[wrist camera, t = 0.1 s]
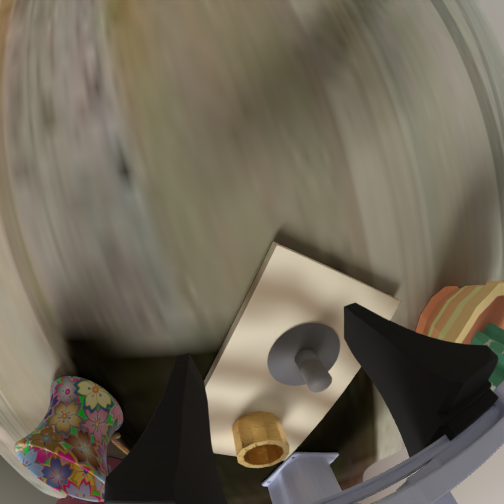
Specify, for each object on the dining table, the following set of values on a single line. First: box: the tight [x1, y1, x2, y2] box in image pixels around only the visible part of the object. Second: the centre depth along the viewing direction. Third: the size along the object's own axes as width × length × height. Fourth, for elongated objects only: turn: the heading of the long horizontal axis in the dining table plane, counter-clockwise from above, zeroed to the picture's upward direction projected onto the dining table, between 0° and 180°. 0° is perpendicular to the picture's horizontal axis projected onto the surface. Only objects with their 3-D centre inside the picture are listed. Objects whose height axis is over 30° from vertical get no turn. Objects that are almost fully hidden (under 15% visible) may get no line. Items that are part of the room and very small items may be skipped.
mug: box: [15, 376, 130, 502], centre depth 18 cm, size 12×9×11 cm
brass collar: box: [232, 411, 289, 468], centre depth 24 cm, size 5×5×4 cm
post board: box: [204, 241, 401, 461], centre depth 23 cm, size 24×14×5 cm, turn 155°
